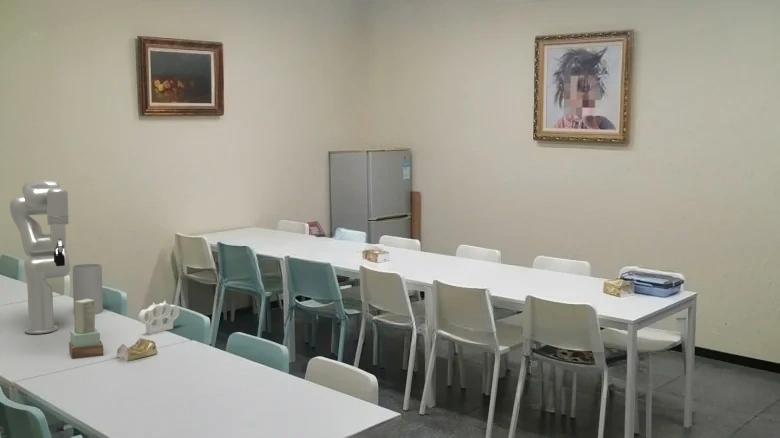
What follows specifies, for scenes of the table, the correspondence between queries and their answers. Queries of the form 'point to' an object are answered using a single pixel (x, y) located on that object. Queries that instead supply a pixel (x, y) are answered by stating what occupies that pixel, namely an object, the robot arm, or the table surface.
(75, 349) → the tower base block
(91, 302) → the skincare box
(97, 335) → the tower top block
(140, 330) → the table surface
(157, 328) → the white brass knuckles
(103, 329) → the table surface
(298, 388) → the table surface
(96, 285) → the cylinder vase
